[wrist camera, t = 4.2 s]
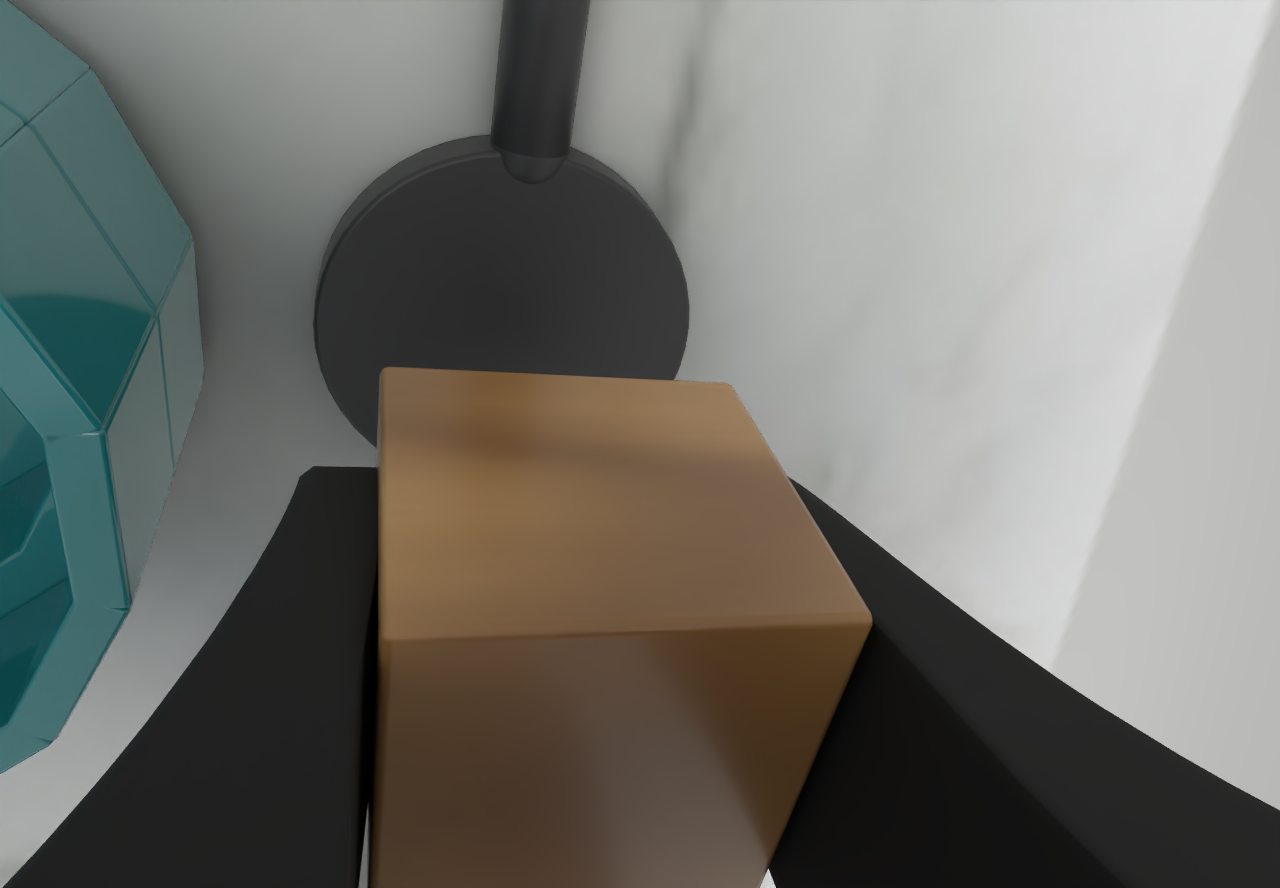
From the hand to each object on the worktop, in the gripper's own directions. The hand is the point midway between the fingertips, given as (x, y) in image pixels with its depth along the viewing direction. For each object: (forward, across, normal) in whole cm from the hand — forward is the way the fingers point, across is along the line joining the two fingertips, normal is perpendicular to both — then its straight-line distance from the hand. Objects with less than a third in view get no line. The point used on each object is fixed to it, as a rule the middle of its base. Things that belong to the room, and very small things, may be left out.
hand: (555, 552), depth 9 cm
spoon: (+5, 0, -2) cm, 6 cm away
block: (+1, 0, 0) cm, 1 cm away
